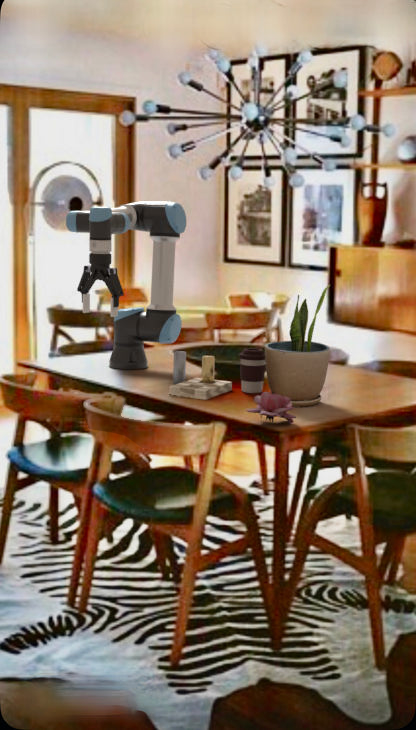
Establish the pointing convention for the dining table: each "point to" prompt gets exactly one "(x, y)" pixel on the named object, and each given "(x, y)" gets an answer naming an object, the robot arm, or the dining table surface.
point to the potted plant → (298, 361)
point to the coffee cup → (252, 370)
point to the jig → (200, 388)
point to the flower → (273, 406)
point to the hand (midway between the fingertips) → (100, 314)
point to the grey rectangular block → (179, 367)
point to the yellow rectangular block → (208, 369)
